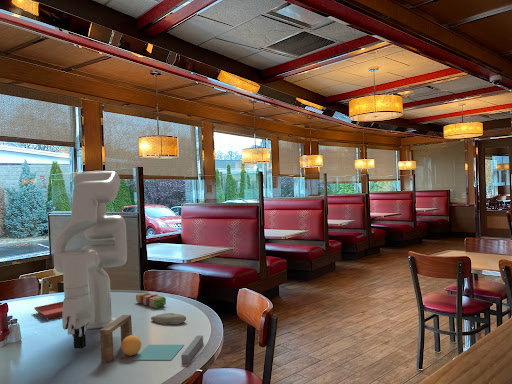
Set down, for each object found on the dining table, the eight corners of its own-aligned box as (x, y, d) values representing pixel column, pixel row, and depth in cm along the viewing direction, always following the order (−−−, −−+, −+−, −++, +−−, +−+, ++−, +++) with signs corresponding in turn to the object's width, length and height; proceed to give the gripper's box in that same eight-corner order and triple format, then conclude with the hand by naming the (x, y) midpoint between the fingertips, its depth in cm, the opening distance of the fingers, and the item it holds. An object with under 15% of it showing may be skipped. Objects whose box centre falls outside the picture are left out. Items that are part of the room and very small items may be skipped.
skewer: (134, 303, 193) (133, 293, 193) (146, 300, 197) (145, 290, 197) (158, 311, 178) (158, 299, 178) (171, 307, 183) (170, 296, 183)
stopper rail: (181, 363, 122) (181, 355, 122) (197, 343, 138) (197, 335, 138) (188, 363, 122) (187, 355, 122) (203, 343, 137) (202, 335, 137)
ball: (114, 350, 128) (124, 336, 127) (123, 342, 134) (133, 328, 133) (129, 363, 128) (139, 348, 127) (137, 353, 134) (147, 339, 133)
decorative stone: (155, 319, 167) (155, 311, 167) (190, 321, 163) (189, 312, 162) (147, 324, 161) (146, 315, 161) (182, 326, 157) (182, 317, 157)
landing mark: (133, 360, 126) (133, 359, 126) (149, 345, 138) (149, 344, 138) (171, 360, 124) (171, 359, 124) (183, 345, 136) (183, 344, 136)
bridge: (101, 362, 126) (99, 330, 126) (124, 343, 141) (122, 314, 141) (110, 362, 126) (108, 330, 126) (132, 343, 141) (131, 314, 140)
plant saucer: (33, 314, 185) (33, 307, 185) (75, 305, 197) (75, 298, 197) (45, 322, 171) (44, 314, 171) (89, 312, 183) (89, 304, 183)
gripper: (79, 286, 143) (82, 339, 143) (51, 297, 128) (55, 356, 128) (99, 285, 142) (102, 339, 142) (74, 297, 127) (77, 357, 127)
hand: (80, 347), depth 135 cm, fingers closed
